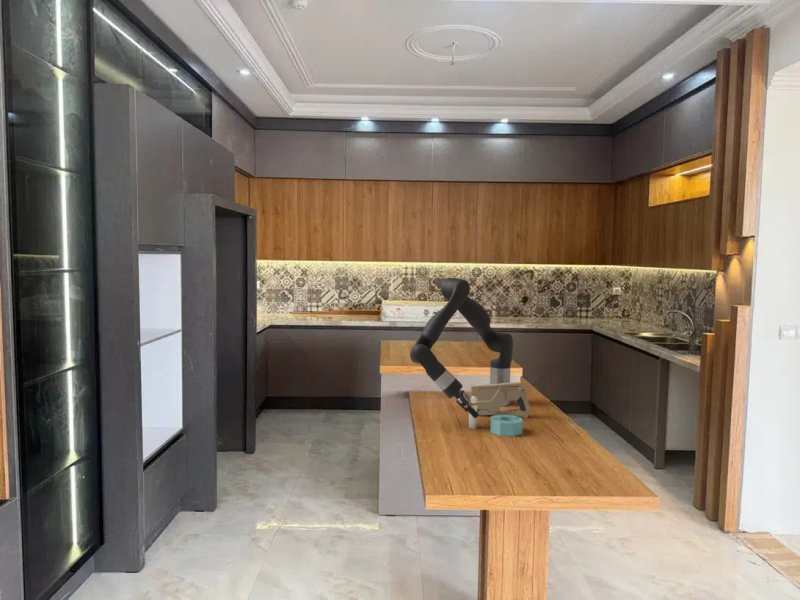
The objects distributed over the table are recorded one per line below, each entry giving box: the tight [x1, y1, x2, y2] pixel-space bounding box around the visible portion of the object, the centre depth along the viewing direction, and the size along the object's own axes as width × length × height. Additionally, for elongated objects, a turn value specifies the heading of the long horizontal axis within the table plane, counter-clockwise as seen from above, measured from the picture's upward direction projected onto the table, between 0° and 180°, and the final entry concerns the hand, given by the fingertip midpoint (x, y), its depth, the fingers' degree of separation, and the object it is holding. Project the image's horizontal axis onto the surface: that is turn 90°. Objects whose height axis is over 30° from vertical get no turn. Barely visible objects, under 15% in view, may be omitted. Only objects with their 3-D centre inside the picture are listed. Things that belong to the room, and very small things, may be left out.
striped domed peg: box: [468, 395, 478, 429], centre depth 226 cm, size 3×3×13 cm
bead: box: [490, 414, 524, 437], centre depth 221 cm, size 12×12×5 cm
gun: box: [470, 381, 532, 419], centre depth 243 cm, size 24×3×15 cm, turn 84°
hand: (477, 414), depth 226 cm, fingers open, 6 cm apart
